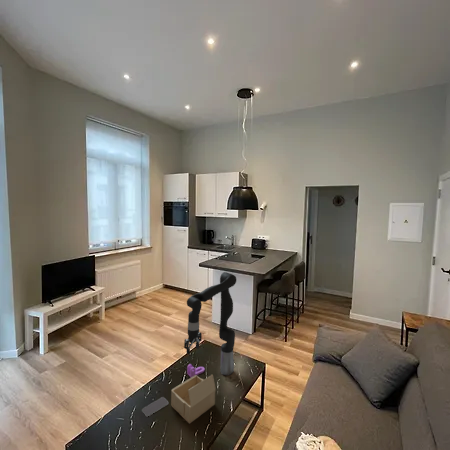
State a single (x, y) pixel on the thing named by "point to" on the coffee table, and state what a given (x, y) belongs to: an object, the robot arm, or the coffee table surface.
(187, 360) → the coffee table surface
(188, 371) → the bracket
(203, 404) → the carton
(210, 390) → the flap
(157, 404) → the smartphone
